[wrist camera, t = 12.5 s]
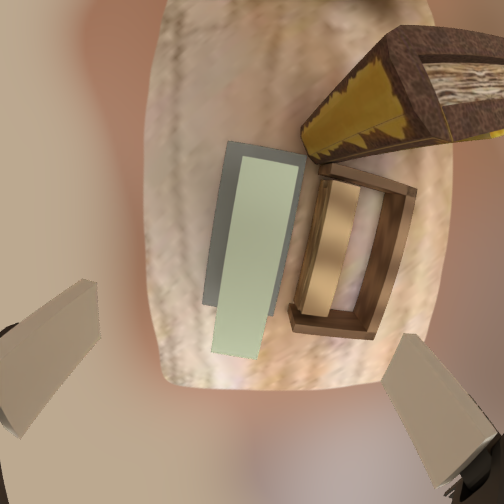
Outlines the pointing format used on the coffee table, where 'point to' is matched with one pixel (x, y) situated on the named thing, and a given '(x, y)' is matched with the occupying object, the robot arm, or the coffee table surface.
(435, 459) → the robot arm
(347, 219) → the brown wooden bar
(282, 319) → the coffee table surface
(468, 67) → the book
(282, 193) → the pale green slab
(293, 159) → the mat
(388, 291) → the frame
